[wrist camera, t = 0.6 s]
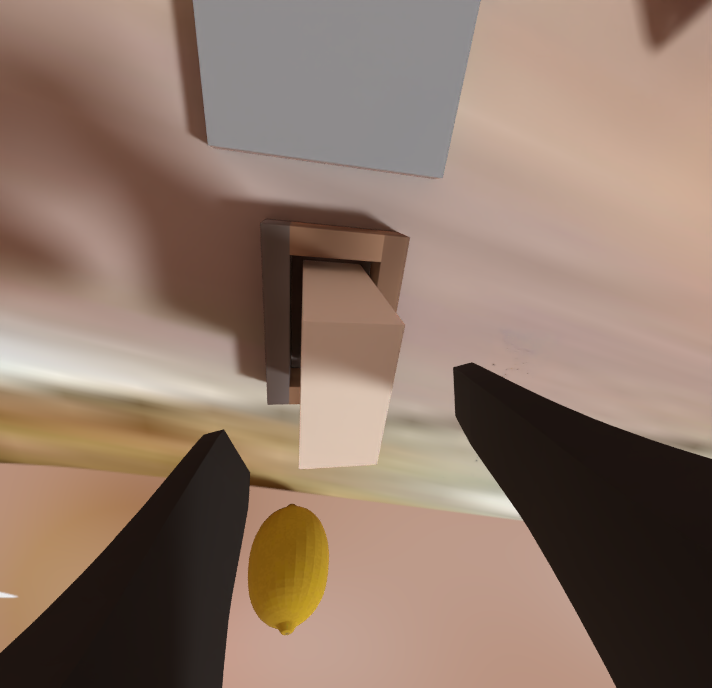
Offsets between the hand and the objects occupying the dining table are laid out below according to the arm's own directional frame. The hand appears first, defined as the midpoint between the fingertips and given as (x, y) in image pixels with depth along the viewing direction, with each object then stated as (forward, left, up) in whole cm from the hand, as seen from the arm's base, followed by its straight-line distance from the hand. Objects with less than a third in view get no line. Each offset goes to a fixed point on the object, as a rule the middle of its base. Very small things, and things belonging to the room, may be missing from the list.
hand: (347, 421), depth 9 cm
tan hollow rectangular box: (0, 0, -9) cm, 9 cm away
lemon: (+14, +10, -9) cm, 19 cm away
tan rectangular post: (0, 0, -9) cm, 9 cm away
